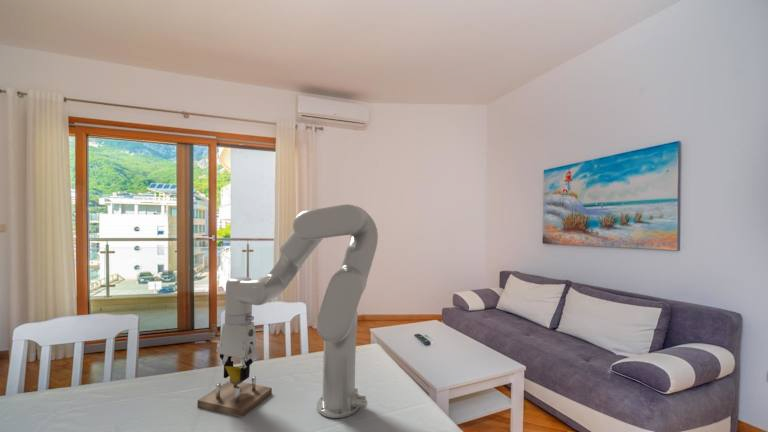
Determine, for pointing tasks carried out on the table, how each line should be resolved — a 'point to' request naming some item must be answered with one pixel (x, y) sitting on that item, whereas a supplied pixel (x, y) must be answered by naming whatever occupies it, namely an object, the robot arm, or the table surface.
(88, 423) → the table surface
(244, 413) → the peg board
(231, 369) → the olive yellow block
